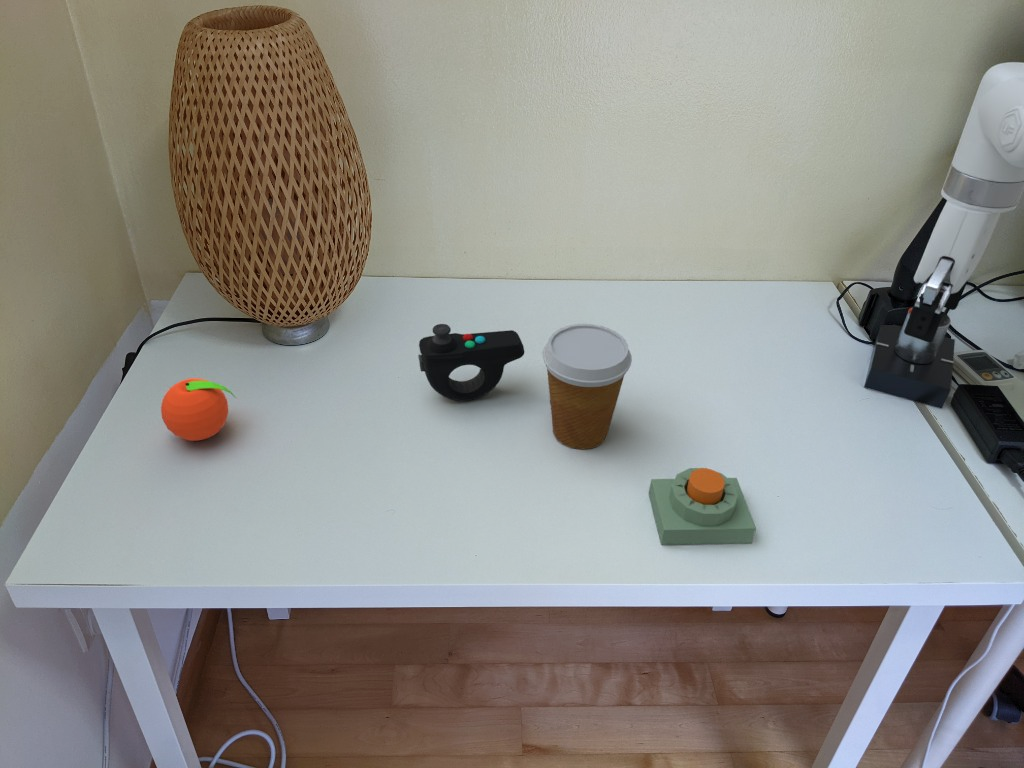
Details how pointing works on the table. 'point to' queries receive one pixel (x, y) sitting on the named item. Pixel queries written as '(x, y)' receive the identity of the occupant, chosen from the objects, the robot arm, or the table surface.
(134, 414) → the table surface
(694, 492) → the button
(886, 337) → the dial panel
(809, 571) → the table surface
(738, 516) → the box
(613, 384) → the disposable coffee cup
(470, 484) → the table surface
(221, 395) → the clementine
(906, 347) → the dial
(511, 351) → the controller
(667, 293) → the table surface
